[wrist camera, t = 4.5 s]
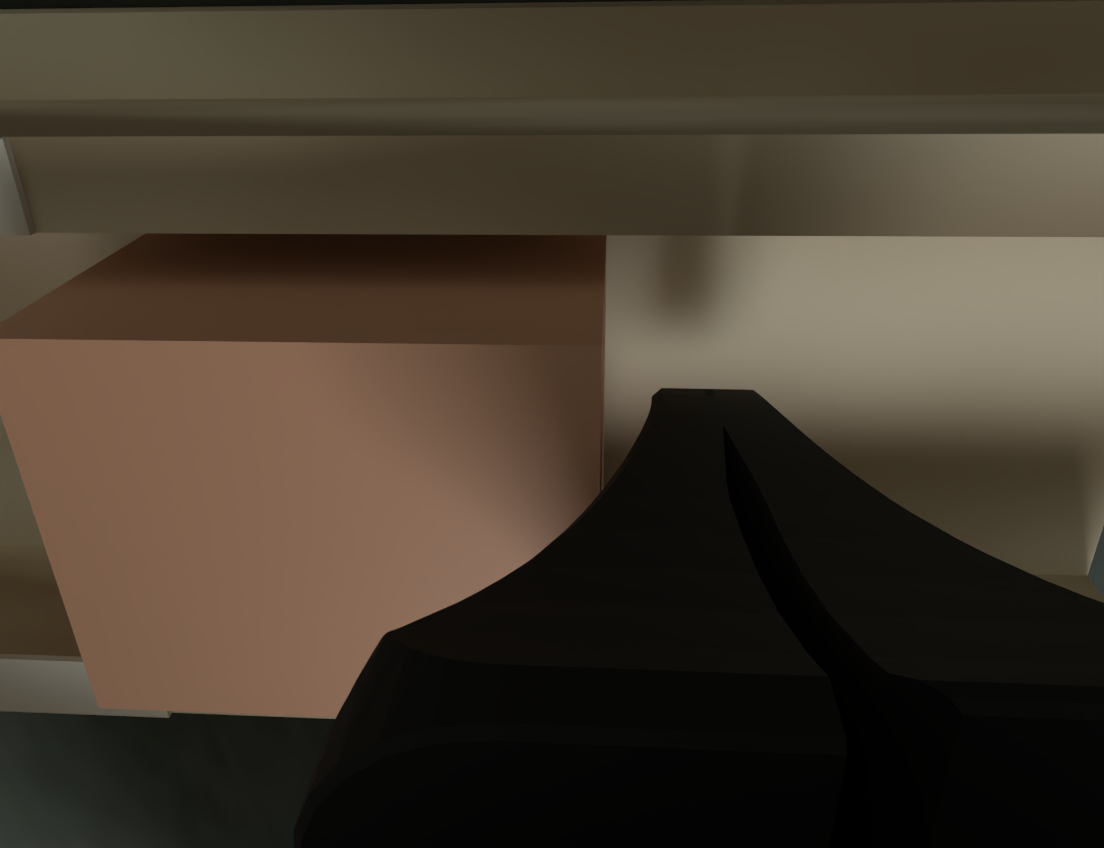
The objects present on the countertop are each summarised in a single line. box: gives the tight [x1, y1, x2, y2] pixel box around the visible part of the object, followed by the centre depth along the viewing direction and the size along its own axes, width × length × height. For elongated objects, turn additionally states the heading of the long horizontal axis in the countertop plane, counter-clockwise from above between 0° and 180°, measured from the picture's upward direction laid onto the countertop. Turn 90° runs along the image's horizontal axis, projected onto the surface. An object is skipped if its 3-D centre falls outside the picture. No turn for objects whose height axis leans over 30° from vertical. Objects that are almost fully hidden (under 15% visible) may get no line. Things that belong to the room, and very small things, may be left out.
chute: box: [0, 0, 1104, 719], centre depth 13 cm, size 10×28×4 cm, turn 91°
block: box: [0, 233, 607, 717], centre depth 11 cm, size 5×6×4 cm
